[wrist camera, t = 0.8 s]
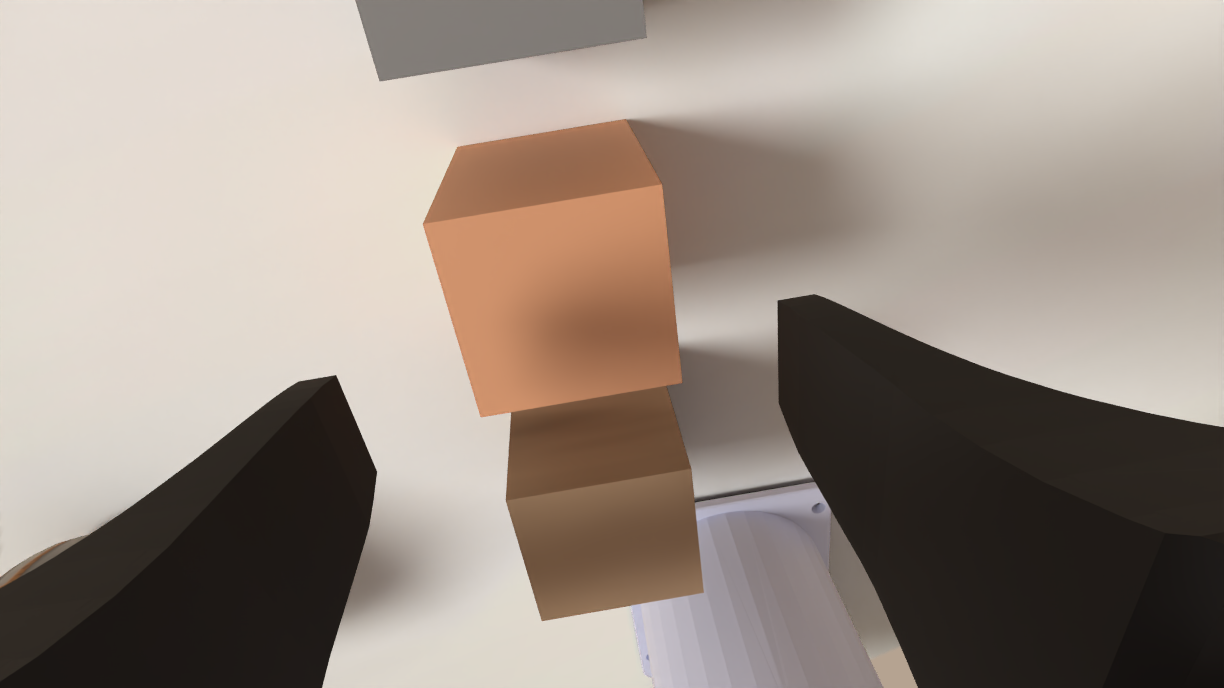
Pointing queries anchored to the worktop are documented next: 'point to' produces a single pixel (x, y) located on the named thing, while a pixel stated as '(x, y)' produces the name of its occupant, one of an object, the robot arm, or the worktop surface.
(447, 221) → the terracotta block
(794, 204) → the worktop surface
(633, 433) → the walnut block
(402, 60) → the charcoal block
